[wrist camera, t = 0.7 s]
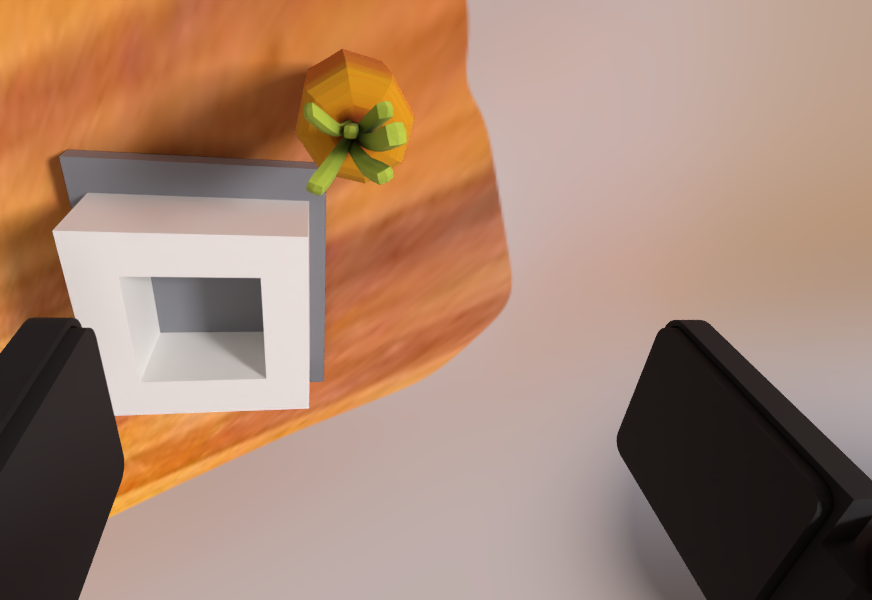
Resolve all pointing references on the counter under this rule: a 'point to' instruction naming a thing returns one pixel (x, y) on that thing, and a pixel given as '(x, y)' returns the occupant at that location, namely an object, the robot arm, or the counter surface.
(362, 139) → the carrot
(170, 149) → the counter surface
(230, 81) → the counter surface
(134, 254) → the socket stand
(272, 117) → the counter surface
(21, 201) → the counter surface
